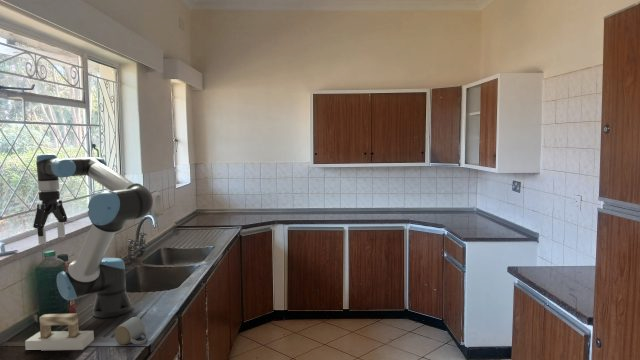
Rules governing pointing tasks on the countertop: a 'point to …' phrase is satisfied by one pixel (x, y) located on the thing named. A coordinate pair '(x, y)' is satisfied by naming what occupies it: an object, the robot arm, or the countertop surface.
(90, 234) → the robot arm
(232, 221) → the countertop surface
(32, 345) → the white flat block
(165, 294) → the countertop surface
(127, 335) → the ceramic mug
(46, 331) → the clip
